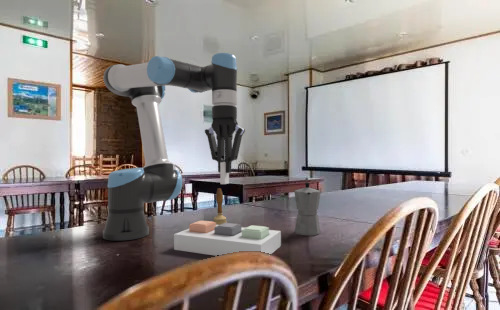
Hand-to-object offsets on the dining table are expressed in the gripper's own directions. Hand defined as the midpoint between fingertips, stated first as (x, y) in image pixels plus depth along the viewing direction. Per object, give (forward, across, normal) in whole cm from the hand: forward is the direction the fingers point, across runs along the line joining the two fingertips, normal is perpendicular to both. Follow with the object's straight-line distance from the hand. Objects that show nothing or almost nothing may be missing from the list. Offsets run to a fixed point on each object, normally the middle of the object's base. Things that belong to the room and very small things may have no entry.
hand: (224, 183), depth 96 cm
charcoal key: (+16, +1, 0) cm, 16 cm away
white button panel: (+19, +1, 0) cm, 19 cm away
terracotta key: (+16, -8, 0) cm, 18 cm away
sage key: (+16, +10, 0) cm, 19 cm away
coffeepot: (+20, +18, +29) cm, 39 cm away
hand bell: (+20, -11, +16) cm, 28 cm away
